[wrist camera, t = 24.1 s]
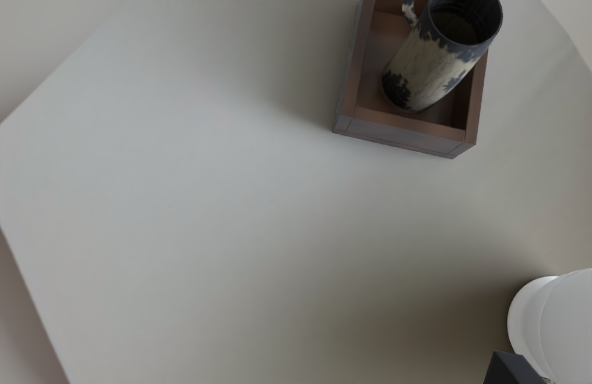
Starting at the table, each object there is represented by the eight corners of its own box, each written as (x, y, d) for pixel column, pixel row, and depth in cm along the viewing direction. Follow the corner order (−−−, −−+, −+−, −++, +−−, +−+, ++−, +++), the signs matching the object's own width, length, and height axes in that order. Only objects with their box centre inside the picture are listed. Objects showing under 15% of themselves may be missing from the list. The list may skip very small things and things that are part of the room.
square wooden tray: (331, 132, 39) (340, 114, 34) (357, 3, 41) (368, -29, 37) (452, 159, 39) (476, 144, 35) (470, 29, 42) (494, 0, 37)
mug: (452, 101, 39) (533, 26, 27) (398, 125, 38) (457, 58, 26) (411, 26, 40) (471, -78, 28) (358, 47, 39) (397, -50, 28)
